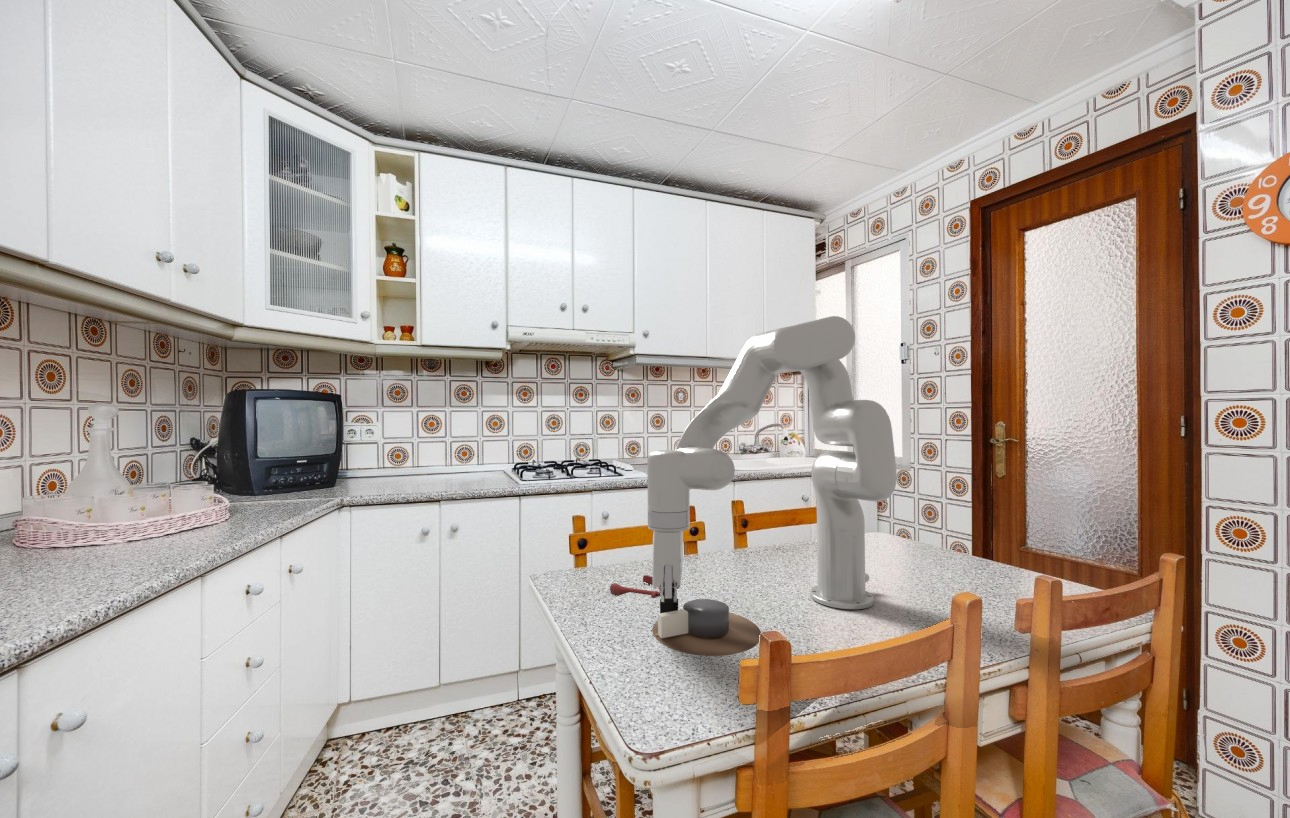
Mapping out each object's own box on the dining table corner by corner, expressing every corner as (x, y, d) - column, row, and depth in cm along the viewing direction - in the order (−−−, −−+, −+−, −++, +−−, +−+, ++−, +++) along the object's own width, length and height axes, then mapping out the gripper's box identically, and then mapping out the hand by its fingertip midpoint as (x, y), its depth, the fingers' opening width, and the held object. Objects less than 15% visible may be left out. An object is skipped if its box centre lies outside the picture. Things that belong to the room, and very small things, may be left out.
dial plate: (699, 609, 101) (699, 601, 101) (782, 639, 87) (782, 629, 87) (630, 638, 88) (630, 628, 88) (715, 678, 74) (714, 666, 74)
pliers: (665, 622, 96) (665, 608, 96) (607, 594, 112) (607, 582, 112) (707, 608, 103) (707, 595, 103) (647, 583, 119) (647, 572, 119)
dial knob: (714, 616, 93) (713, 596, 93) (738, 632, 86) (737, 611, 86) (650, 627, 88) (650, 607, 88) (669, 646, 81) (669, 624, 81)
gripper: (650, 511, 97) (650, 606, 96) (644, 528, 82) (645, 640, 81) (689, 511, 96) (689, 607, 96) (690, 528, 81) (691, 642, 81)
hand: (669, 622), depth 89 cm, fingers closed
